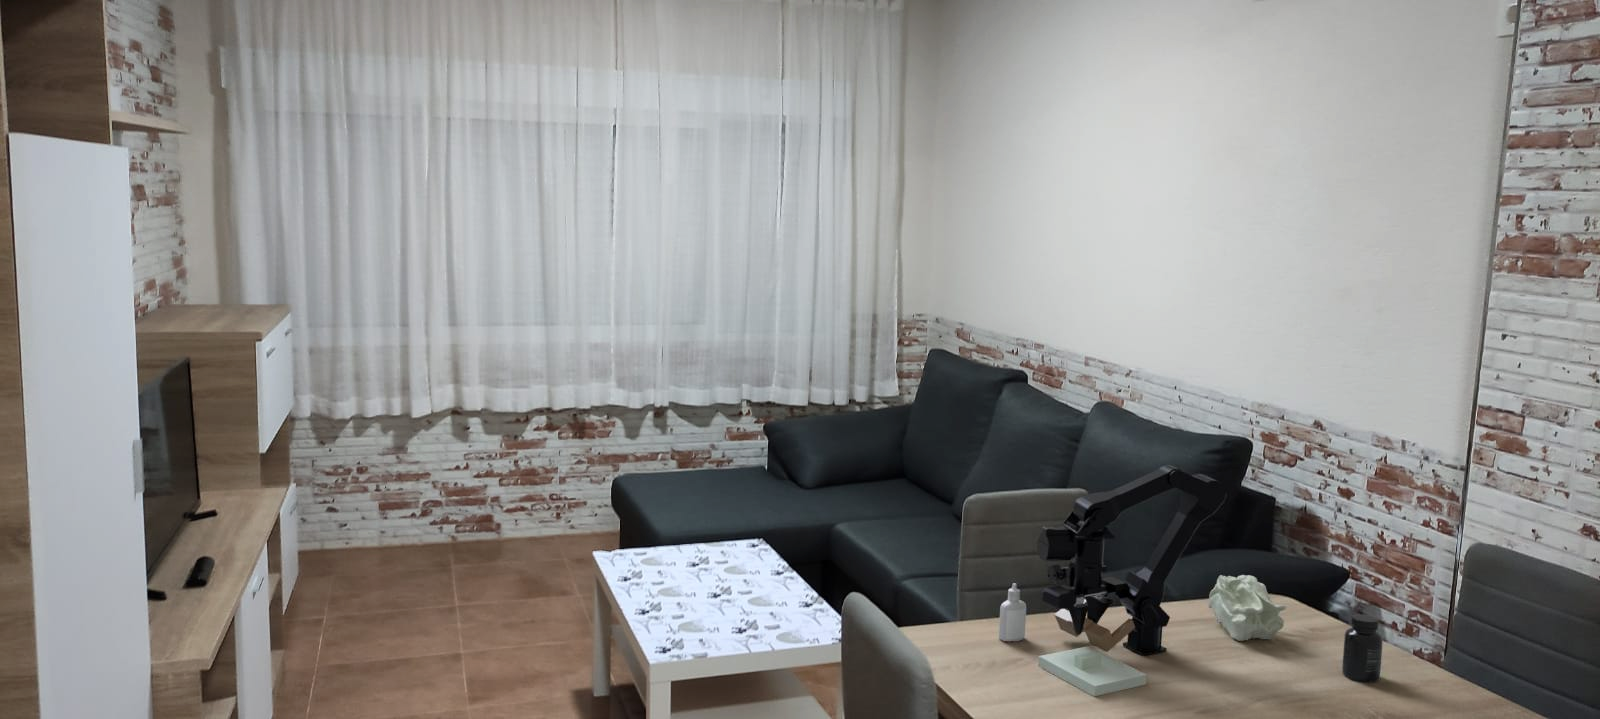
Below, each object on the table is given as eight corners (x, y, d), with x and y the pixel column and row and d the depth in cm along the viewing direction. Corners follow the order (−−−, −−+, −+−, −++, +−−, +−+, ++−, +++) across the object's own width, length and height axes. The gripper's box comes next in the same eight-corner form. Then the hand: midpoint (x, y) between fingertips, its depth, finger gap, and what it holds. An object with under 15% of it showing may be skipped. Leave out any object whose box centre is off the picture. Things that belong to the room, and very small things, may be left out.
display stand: (1088, 655, 236) (1089, 635, 236) (1145, 684, 222) (1147, 663, 222) (1038, 665, 230) (1039, 645, 230) (1094, 696, 216) (1095, 674, 216)
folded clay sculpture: (1263, 669, 249) (1301, 618, 242) (1209, 655, 247) (1246, 603, 239) (1235, 610, 265) (1270, 560, 257) (1184, 597, 262) (1218, 546, 255)
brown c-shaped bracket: (1087, 606, 248) (1081, 590, 247) (1135, 627, 236) (1128, 610, 234) (1060, 629, 245) (1053, 613, 244) (1107, 652, 233) (1100, 635, 231)
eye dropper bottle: (1026, 643, 242) (1029, 587, 241) (999, 642, 242) (1002, 586, 241) (1023, 635, 247) (1026, 581, 245) (996, 634, 247) (999, 580, 245)
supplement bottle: (1377, 672, 231) (1382, 615, 230) (1381, 685, 225) (1387, 626, 223) (1339, 667, 234) (1344, 610, 232) (1343, 680, 227) (1348, 621, 226)
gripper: (1095, 543, 247) (1091, 614, 249) (1026, 553, 238) (1022, 626, 240) (1133, 557, 237) (1128, 631, 239) (1063, 569, 229) (1058, 644, 231)
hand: (1084, 632), depth 238 cm, fingers closed on brown c-shaped bracket, 3 cm apart
